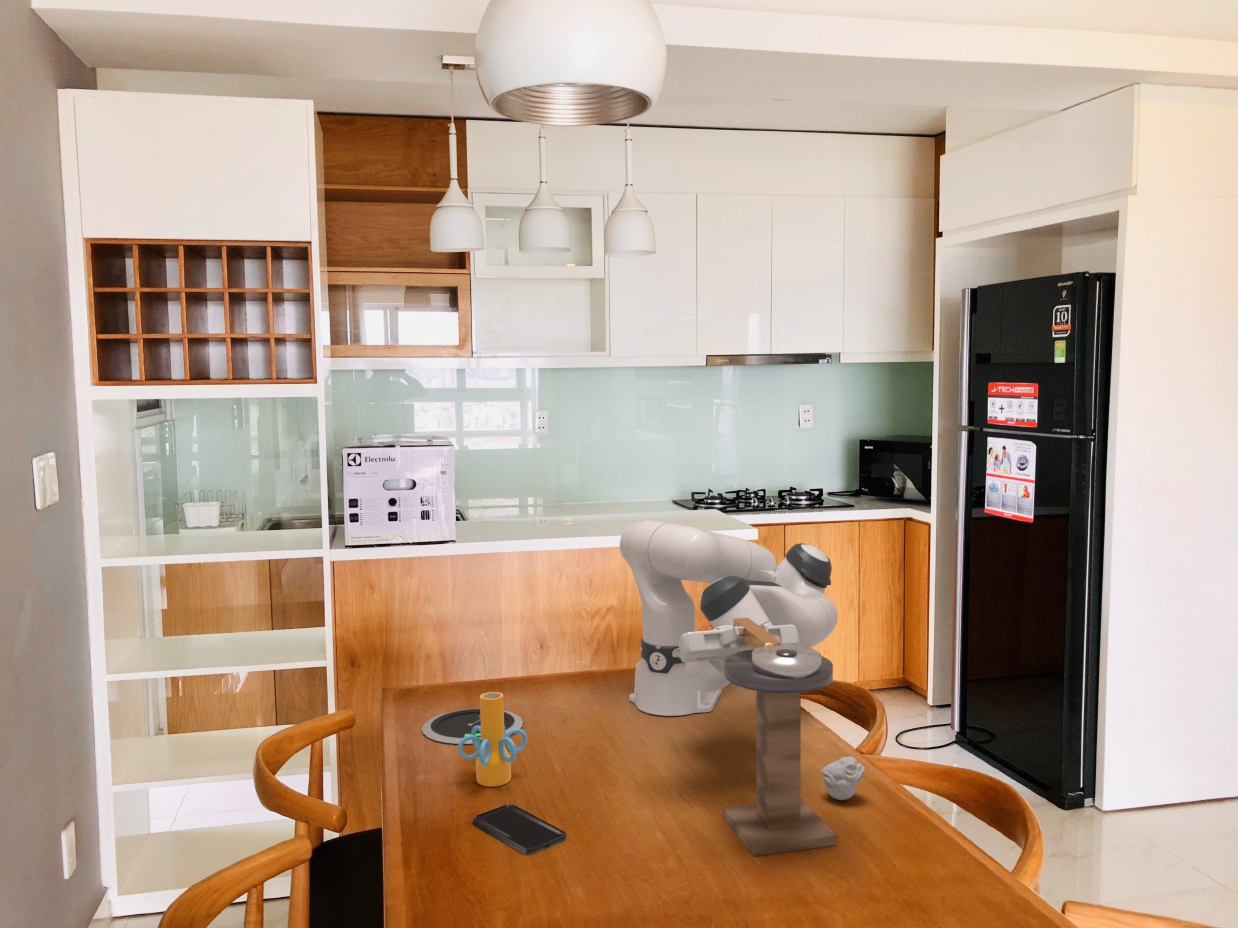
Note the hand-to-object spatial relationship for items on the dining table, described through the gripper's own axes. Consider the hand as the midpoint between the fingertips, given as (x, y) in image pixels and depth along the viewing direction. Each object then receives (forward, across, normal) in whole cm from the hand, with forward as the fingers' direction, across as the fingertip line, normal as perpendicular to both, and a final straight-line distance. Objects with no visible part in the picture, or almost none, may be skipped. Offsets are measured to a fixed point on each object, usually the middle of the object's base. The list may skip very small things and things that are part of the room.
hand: (752, 630), depth 153 cm
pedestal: (-5, 0, +30) cm, 30 cm away
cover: (+5, 0, +5) cm, 7 cm away
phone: (-14, -38, +25) cm, 48 cm away
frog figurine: (-12, +14, +26) cm, 32 cm away
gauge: (-55, -42, +2) cm, 69 cm away
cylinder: (-31, -40, +15) cm, 53 cm away
